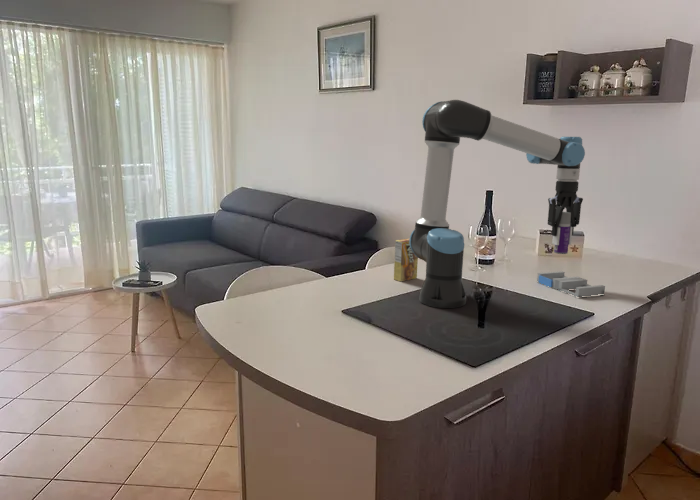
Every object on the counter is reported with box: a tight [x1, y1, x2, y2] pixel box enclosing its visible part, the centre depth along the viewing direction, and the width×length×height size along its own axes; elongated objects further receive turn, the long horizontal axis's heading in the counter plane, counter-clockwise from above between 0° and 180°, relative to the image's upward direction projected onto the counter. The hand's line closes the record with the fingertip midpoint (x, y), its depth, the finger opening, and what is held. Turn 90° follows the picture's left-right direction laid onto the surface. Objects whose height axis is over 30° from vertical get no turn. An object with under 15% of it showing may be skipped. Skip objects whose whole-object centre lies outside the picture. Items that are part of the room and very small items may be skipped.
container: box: [553, 211, 571, 255], centre depth 195 cm, size 5×5×15 cm
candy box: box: [393, 237, 419, 282], centre depth 202 cm, size 9×4×15 cm, turn 129°
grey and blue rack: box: [536, 270, 606, 297], centre depth 193 cm, size 12×22×4 cm, turn 18°
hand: (561, 244), depth 196 cm, fingers closed on container, 5 cm apart
